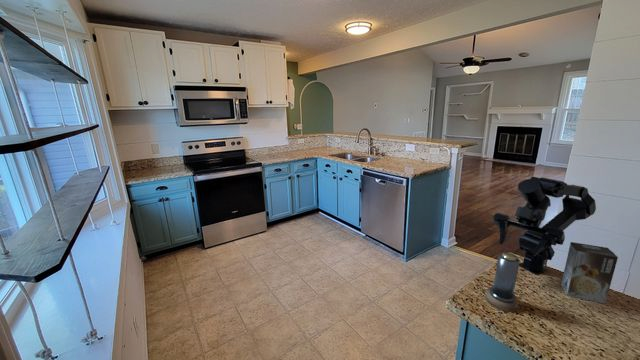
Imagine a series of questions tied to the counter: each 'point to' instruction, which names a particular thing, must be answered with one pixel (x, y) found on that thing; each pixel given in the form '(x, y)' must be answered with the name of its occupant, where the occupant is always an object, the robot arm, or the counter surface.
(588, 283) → the coffee box
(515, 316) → the counter surface
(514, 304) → the stand
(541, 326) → the counter surface
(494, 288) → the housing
